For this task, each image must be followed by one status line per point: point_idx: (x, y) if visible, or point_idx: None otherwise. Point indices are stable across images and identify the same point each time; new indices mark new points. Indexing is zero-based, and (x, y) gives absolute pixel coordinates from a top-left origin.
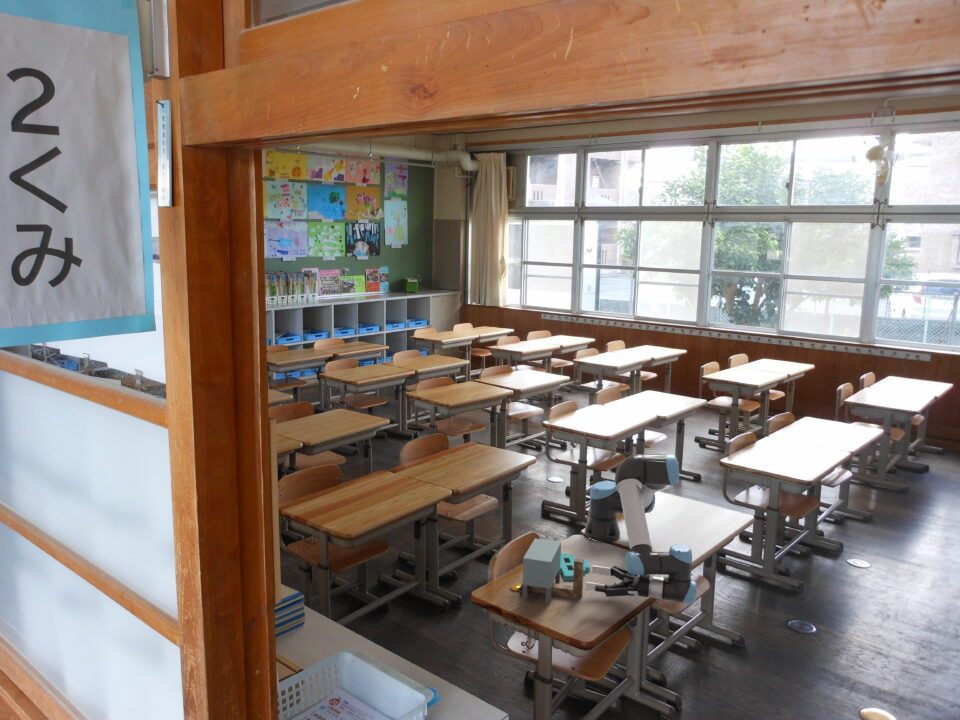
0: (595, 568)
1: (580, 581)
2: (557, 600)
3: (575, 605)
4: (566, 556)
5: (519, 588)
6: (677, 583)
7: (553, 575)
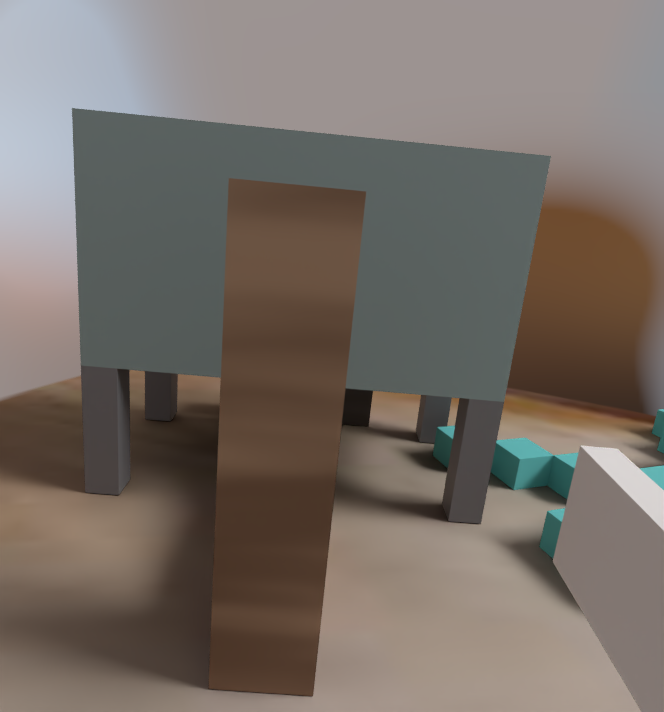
0: (599, 510)
1: (220, 473)
2: (160, 524)
3: (44, 647)
4: None
5: None
6: None
7: (203, 314)
